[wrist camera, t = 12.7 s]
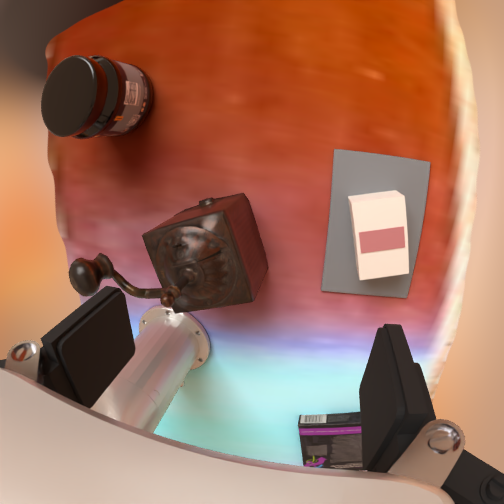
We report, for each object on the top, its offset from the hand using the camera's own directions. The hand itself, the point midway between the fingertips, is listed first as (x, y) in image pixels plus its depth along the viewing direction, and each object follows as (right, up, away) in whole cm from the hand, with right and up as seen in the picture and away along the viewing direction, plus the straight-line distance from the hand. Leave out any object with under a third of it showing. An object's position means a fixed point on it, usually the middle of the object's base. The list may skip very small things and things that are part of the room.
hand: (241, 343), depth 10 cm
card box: (+15, +6, +25) cm, 30 cm away
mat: (+16, +6, +25) cm, 30 cm away
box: (+17, -34, +41) cm, 56 cm away
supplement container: (-17, +24, +26) cm, 40 cm away
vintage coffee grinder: (-6, +5, +31) cm, 32 cm away
